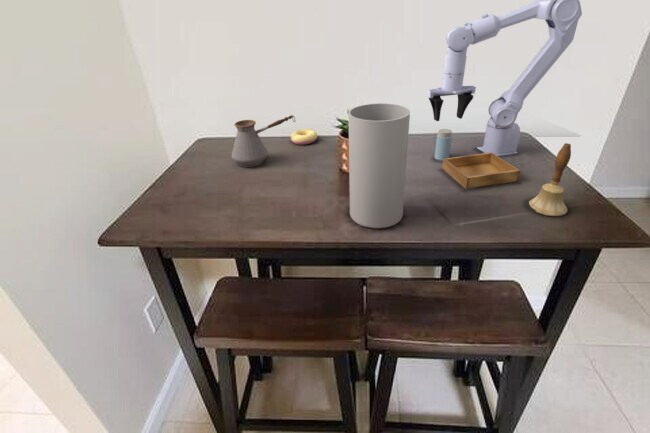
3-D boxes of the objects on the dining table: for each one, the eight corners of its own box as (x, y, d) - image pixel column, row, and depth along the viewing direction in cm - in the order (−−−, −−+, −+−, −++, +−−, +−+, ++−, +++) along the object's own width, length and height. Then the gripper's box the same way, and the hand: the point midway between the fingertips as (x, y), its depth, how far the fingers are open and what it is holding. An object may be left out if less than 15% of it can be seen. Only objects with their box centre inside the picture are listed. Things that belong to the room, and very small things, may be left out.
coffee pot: (228, 169, 118) (219, 122, 111) (239, 155, 128) (231, 110, 120) (296, 169, 116) (291, 121, 108) (301, 155, 126) (298, 109, 118)
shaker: (444, 155, 120) (448, 127, 115) (451, 160, 116) (455, 132, 112) (431, 157, 119) (434, 129, 115) (438, 162, 116) (441, 134, 111)
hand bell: (563, 201, 93) (584, 138, 85) (570, 218, 86) (592, 152, 78) (526, 197, 95) (542, 136, 87) (529, 214, 89) (547, 149, 80)
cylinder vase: (389, 235, 84) (395, 124, 71) (340, 221, 90) (337, 116, 77) (410, 209, 93) (418, 107, 80) (364, 198, 99) (365, 101, 86)
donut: (289, 149, 136) (312, 148, 132) (285, 138, 133) (309, 136, 129) (299, 136, 143) (322, 134, 139) (295, 125, 140) (319, 123, 136)
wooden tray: (489, 163, 113) (491, 152, 112) (517, 182, 102) (520, 170, 100) (442, 170, 111) (443, 158, 109) (465, 190, 100) (467, 178, 98)
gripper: (437, 77, 106) (431, 125, 113) (484, 73, 109) (476, 120, 116) (426, 73, 112) (421, 118, 119) (471, 68, 115) (464, 113, 122)
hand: (447, 118), depth 118 cm, fingers open, 7 cm apart
